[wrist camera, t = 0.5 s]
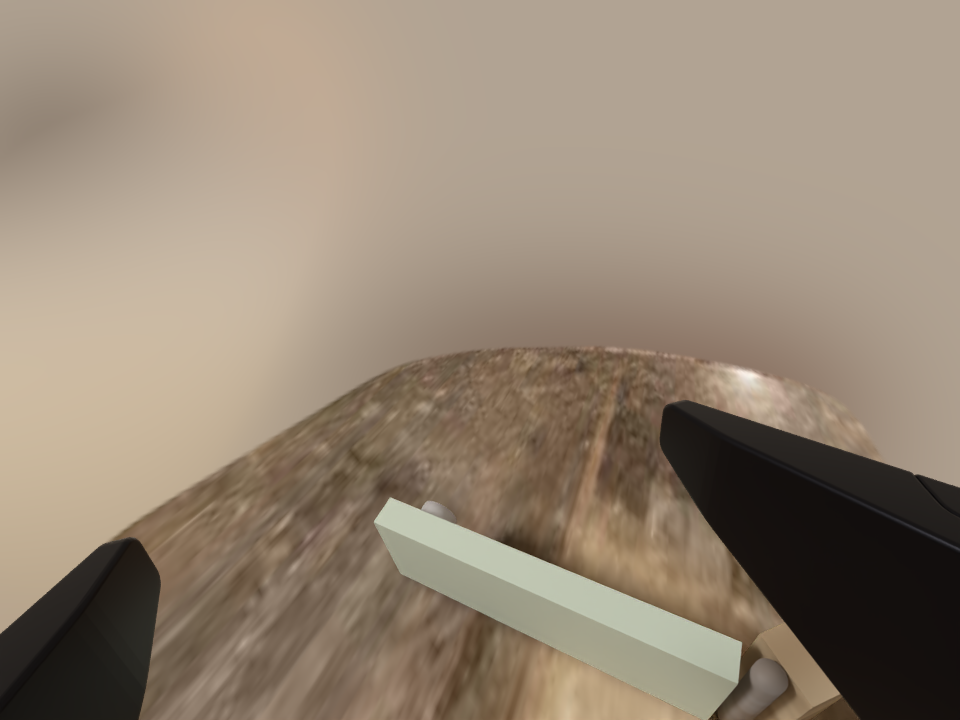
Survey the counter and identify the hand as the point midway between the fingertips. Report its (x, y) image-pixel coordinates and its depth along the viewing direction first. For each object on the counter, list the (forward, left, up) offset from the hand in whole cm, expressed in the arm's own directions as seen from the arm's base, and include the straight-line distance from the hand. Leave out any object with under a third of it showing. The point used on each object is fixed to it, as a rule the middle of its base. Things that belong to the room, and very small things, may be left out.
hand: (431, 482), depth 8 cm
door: (+3, -3, -15) cm, 15 cm away
